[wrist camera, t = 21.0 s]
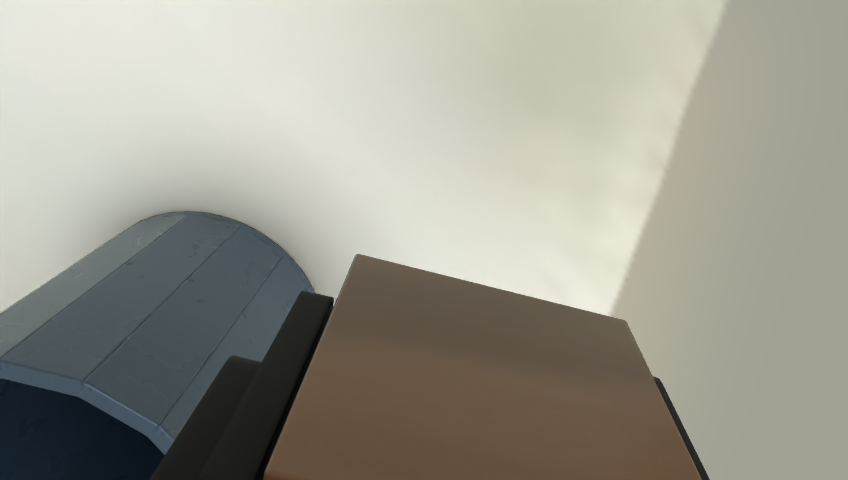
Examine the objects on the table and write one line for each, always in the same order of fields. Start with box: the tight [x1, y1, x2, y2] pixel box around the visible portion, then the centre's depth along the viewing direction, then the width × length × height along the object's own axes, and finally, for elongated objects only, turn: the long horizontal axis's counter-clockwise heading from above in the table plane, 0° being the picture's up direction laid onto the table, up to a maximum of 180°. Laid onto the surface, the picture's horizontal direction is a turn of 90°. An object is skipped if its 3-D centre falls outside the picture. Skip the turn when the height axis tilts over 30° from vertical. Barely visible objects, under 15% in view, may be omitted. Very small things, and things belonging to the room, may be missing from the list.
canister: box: [0, 212, 315, 480], centre depth 22 cm, size 11×11×12 cm
